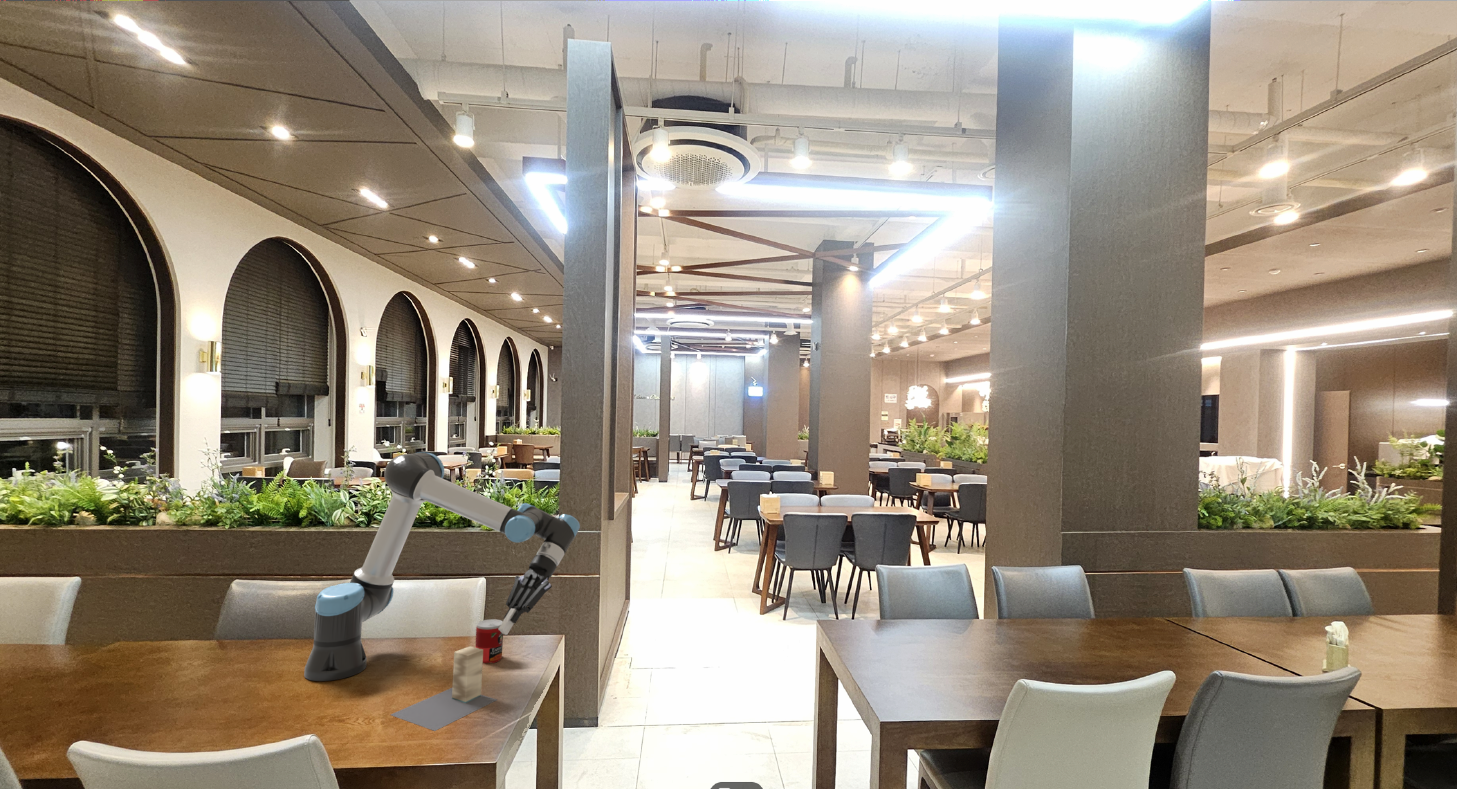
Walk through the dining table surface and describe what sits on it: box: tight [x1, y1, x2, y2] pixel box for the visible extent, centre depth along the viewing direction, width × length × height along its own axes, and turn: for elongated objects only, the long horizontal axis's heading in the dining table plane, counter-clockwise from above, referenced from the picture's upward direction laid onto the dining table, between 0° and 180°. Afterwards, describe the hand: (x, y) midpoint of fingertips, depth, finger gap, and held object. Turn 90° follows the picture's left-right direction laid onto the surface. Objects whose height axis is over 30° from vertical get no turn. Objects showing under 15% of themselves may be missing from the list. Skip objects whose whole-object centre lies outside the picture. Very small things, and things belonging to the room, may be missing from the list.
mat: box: [390, 687, 498, 732], centre depth 157 cm, size 16×19×1 cm
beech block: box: [451, 645, 484, 703], centre depth 164 cm, size 5×5×12 cm
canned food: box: [474, 618, 504, 664], centre depth 190 cm, size 8×8×11 cm
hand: (502, 631), depth 174 cm, fingers closed
